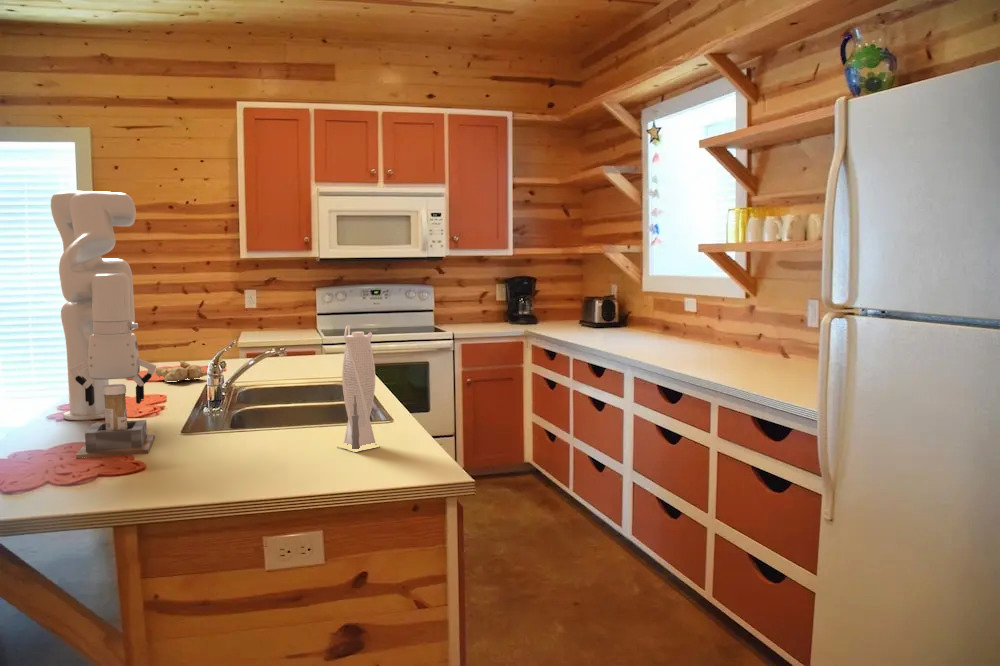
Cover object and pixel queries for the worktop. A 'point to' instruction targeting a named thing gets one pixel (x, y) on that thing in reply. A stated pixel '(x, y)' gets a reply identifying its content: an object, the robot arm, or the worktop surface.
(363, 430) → the skyscraper
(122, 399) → the sprinkles bottle
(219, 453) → the worktop surface
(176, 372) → the ginger root
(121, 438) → the socket
